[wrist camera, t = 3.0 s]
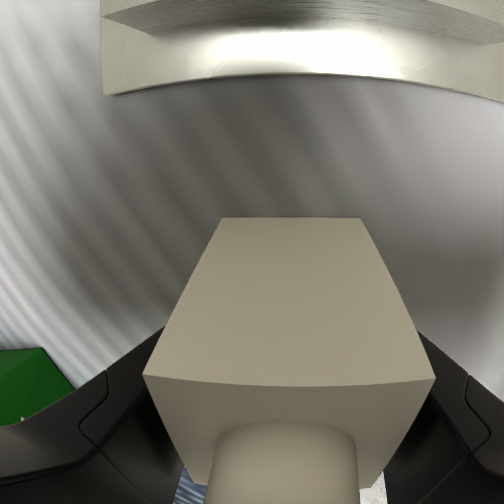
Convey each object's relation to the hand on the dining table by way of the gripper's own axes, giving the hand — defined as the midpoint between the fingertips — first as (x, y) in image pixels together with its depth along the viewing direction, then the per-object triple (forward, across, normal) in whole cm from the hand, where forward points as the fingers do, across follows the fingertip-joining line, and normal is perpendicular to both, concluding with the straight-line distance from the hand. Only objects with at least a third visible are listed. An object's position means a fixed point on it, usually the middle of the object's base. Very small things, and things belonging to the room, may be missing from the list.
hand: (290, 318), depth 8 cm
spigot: (+2, 0, 0) cm, 2 cm away
